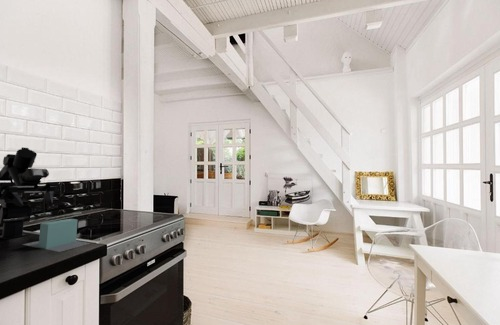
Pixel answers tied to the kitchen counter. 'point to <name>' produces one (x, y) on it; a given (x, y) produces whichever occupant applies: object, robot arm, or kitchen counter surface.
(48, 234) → the teal block
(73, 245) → the slate mat
